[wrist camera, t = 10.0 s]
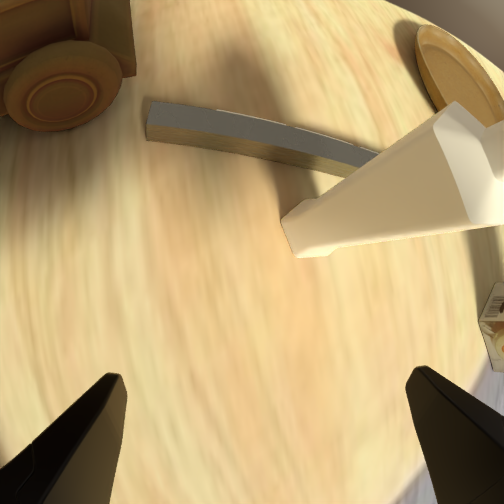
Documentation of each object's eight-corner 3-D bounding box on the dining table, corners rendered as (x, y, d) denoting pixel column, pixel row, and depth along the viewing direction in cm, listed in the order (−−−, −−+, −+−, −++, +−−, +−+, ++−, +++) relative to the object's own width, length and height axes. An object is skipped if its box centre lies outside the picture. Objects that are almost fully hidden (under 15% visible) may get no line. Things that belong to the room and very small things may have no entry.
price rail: (422, 201, 23) (439, 195, 21) (146, 140, 17) (146, 123, 15) (420, 181, 23) (436, 174, 21) (152, 114, 17) (153, 96, 15)
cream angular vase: (334, 195, 20) (533, 93, 6) (342, 259, 20) (570, 211, 5) (272, 193, 19) (478, 37, 4) (279, 264, 18) (543, 200, 4)
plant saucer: (449, 187, 25) (473, 179, 22) (375, 14, 27) (389, 0, 24) (518, 190, 33) (534, 186, 30) (468, 63, 34) (480, 55, 31)
